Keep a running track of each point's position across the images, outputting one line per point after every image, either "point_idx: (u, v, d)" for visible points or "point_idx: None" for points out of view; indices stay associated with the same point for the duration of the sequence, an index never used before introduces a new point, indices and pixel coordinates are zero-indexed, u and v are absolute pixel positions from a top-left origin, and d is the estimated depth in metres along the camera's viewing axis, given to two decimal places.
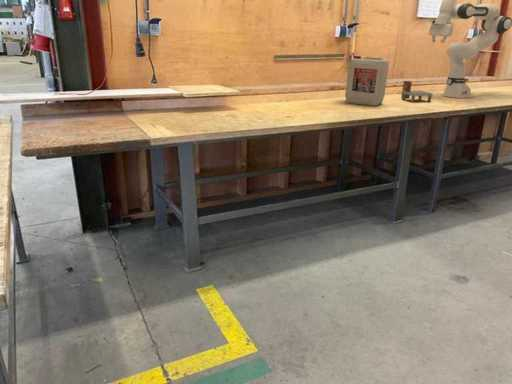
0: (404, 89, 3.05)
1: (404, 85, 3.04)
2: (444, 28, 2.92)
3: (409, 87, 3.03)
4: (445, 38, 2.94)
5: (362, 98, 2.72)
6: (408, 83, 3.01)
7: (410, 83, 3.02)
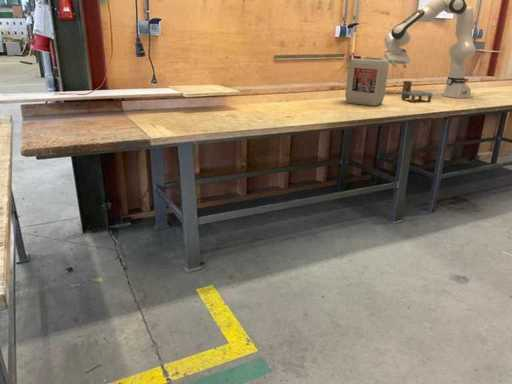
0: (404, 89, 3.05)
1: (404, 85, 3.04)
2: None
3: (409, 87, 3.03)
4: (392, 63, 3.08)
5: (362, 98, 2.72)
6: (408, 83, 3.01)
7: (410, 83, 3.02)
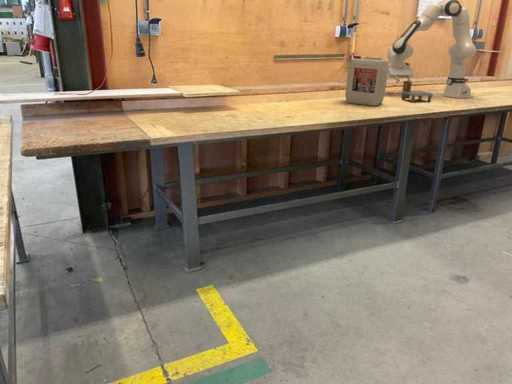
0: (404, 89, 3.05)
1: (404, 85, 3.04)
2: None
3: (409, 87, 3.03)
4: (395, 77, 3.06)
5: (362, 98, 2.72)
6: (408, 83, 3.01)
7: (410, 83, 3.02)
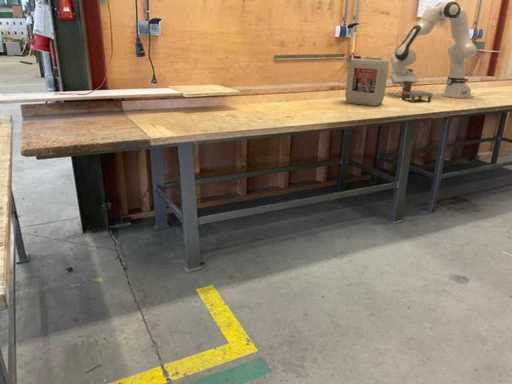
0: (404, 89, 3.05)
1: None
2: None
3: (409, 87, 3.03)
4: (401, 84, 3.04)
5: (362, 98, 2.72)
6: (408, 83, 3.01)
7: (410, 83, 3.02)
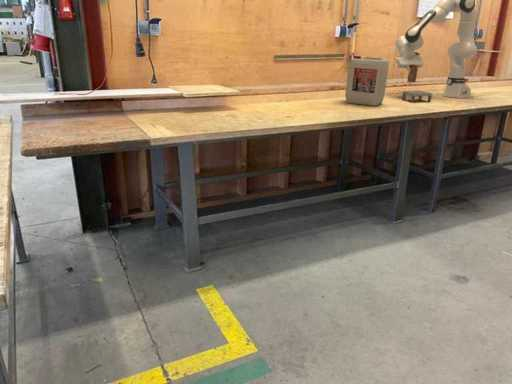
0: (410, 73, 2.97)
1: None
2: None
3: (415, 71, 2.95)
4: (407, 67, 2.96)
5: (362, 98, 2.72)
6: (414, 66, 2.93)
7: (416, 66, 2.94)
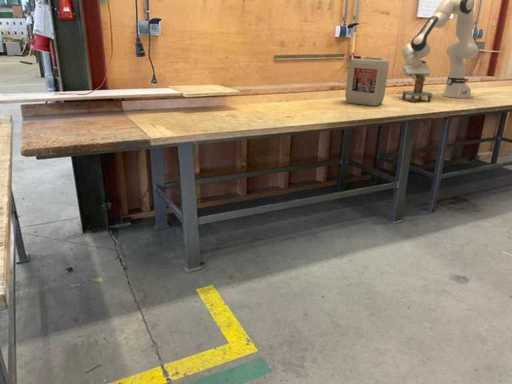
0: (416, 83, 2.92)
1: None
2: None
3: (422, 81, 2.90)
4: (413, 76, 2.90)
5: (362, 98, 2.72)
6: (421, 76, 2.88)
7: (423, 77, 2.89)
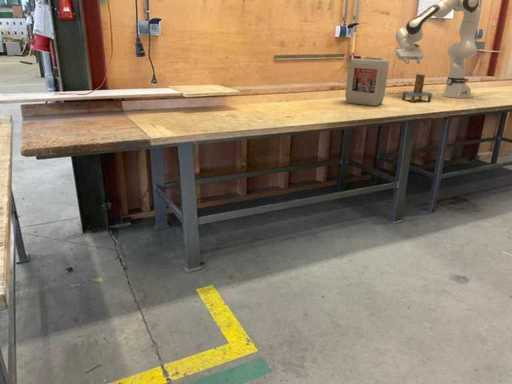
0: (416, 83, 2.92)
1: (417, 79, 2.91)
2: None
3: (422, 81, 2.90)
4: (404, 59, 2.95)
5: (362, 98, 2.72)
6: (421, 76, 2.88)
7: (423, 77, 2.89)
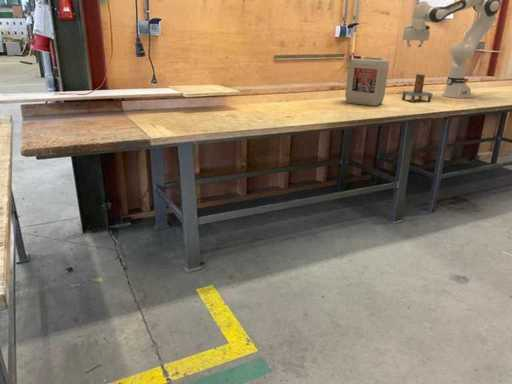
0: (416, 83, 2.92)
1: (417, 79, 2.91)
2: None
3: (422, 81, 2.90)
4: (408, 42, 2.99)
5: (362, 98, 2.72)
6: (421, 76, 2.88)
7: (423, 77, 2.89)
